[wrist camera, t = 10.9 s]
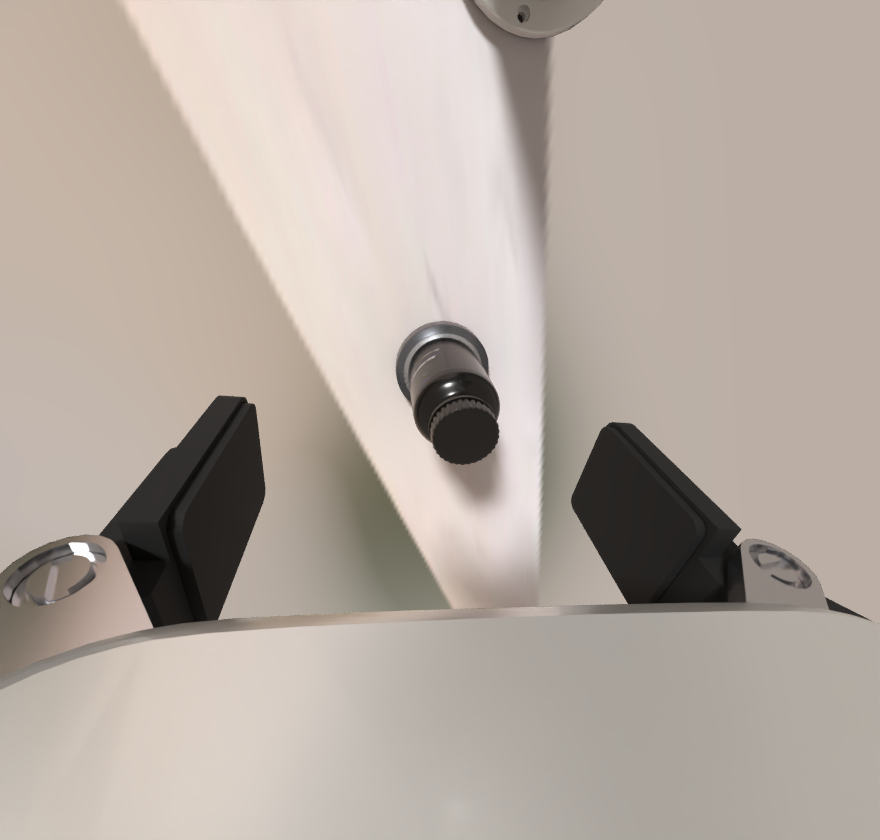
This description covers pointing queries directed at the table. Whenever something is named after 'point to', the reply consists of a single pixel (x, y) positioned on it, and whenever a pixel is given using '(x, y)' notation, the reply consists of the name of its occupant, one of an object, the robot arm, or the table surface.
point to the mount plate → (430, 333)
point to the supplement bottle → (453, 401)
